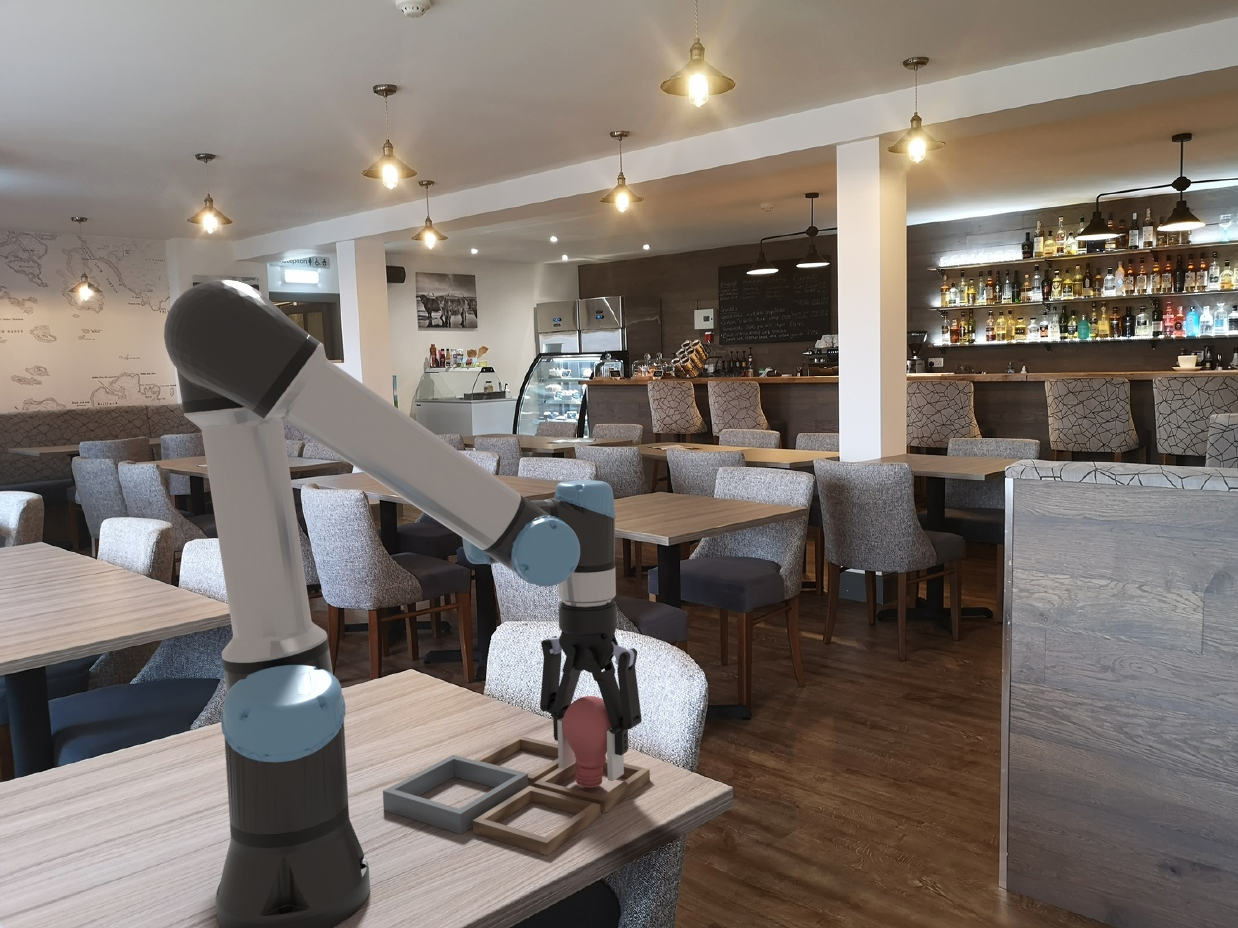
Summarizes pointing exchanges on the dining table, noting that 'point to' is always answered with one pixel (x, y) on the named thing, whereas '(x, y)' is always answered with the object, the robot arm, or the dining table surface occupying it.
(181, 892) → the dining table surface
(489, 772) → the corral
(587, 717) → the light bulb
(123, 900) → the dining table surface
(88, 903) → the dining table surface
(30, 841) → the dining table surface
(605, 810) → the frame
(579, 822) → the frame
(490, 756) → the frame
